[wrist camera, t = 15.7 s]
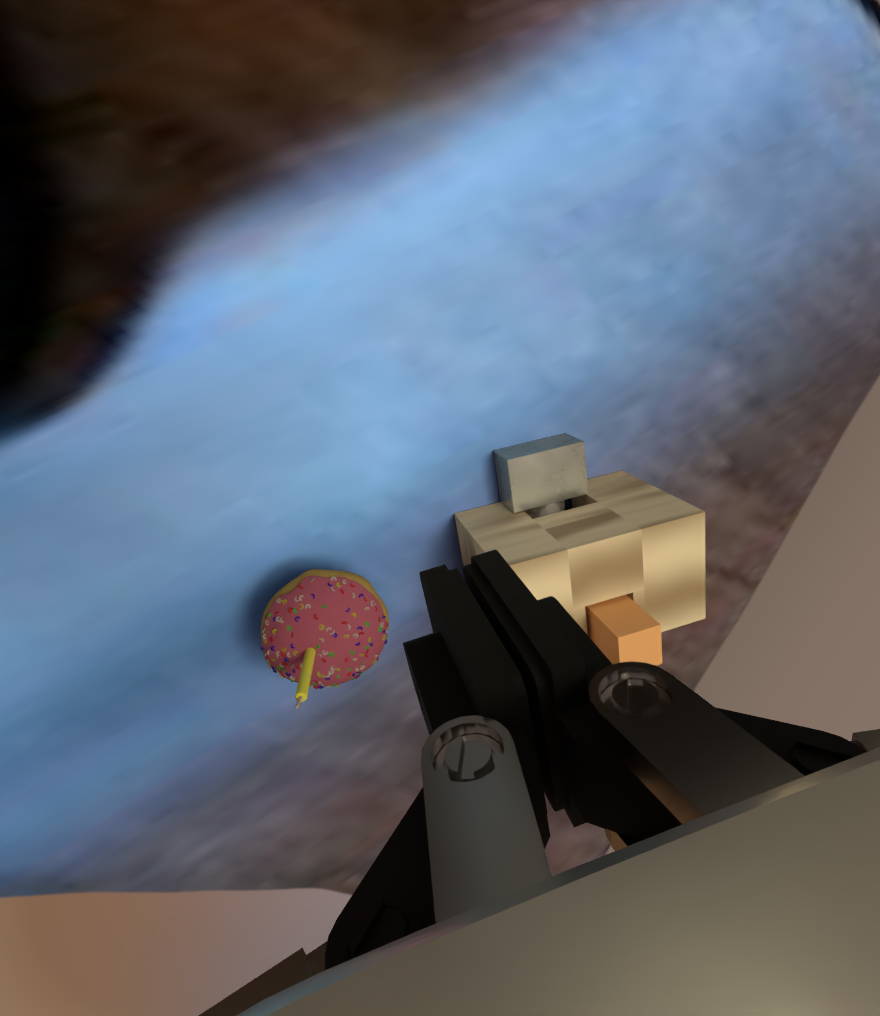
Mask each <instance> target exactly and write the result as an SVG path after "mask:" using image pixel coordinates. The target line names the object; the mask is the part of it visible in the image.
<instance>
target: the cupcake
mask: <svg viewBox="0 0 880 1016" xmlns="http://www.w3.org/2000/svg"><path fill="white" fill-rule="evenodd" d="M388 626H389V617H388V612H387V609H386V607H385V605H384V603H383V601H382V600H381V598H380V597H379V595H378V594H377V593H376V591H375V590H374V588H373V587H372V585H371V583H370V582H369V581H368V580H366V579H365V578H363V577H361V576H360V575H357V574H354V573H350V572H346V571H338V570H320V569H312V570H308V571H306V572H304V573H302V574H301V575H300V576H298V577H297V578H295V579H294V580H292V581H290V582H289V583H288V584H286V585H285V586H284V587H283V588H281V589H280V590H279V591H278V592H277V593H276V594H275V595H274V596H273V597H272V599H271V600H270V601H269V603H268V604H267V606H266V608H265V611H264V614H263V617H262V623H261V643H262V647H261V649H262V650H263V652H264V657H265V658H266V660H267V662H268V668H269V669H271V667H272V669H273V671H274V672H275V673H276V672H277V673H278V674H280V677H281V678H284V677H285V678H287V679H289V680H291V681H292V682H293V681H294V682H297V683H298V687H297V691H296V696H295V698H296V700H297V704H296V706H295V708H296V709H298V708H299V706H300V703H301V702H303V701H305V700H306V699H307V695H308V690H309V686H314V688H315V689H318V688H324V686H326V687H328V688H329V687H331V686H335V687H338V686H339V685H338V684H341V683H344V682H347V681H349V680H353V679H354V678H358V677H359V676H360V675H361V674H362V673H363V672H364V671H366V670H367V669H369V668H370V667H371V666H372V665H373V664H374V663H375V662H376V660H377V661H378V657H379V655H380V653H381V651H382V649H383V647H384V645H385V644H386V643H387V639H386V638H387V633H388ZM269 666H270V667H269ZM281 675H282V676H283V677H282V676H281ZM322 686H323V687H322ZM316 687H317V688H316Z"/></svg>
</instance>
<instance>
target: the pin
mask: <svg viewBox="0 0 880 1016" xmlns="http://www.w3.org/2000/svg"><path fill="white" fill-rule="evenodd" d="M493 454H494V461H495V468H496V475H497V482H498V489H499V496H500V501H502V502H503V503H504V504H505V505H506V506H507V507H508V508H509V509H510V510H512V511H513V512H514V513H516V512H520V511H524V510H525V513H526V514H527V515H529V516H530V517H531V518H532V519H535V518H539V517H543V516H546V515H550V514H554V513H558V512H562V511H565V504H564V500H566V499H570V498H573V497H577V496H581V495H585V494H588V486H587V474H586V462H585V450H584V441H582V440H580V439H577V438H575V437H573V436H571V435H569V434H566V433H563V434H559V435H555V436H551V437H546V438H542V439H538V440H534V441H530V442H526V443H521V444H517V445H513V446H509V447H505V448H500V449H496V450H493Z"/></svg>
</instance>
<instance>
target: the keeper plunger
mask: <svg viewBox="0 0 880 1016" xmlns="http://www.w3.org/2000/svg"><path fill="white" fill-rule="evenodd" d="M585 611H586V622H587V633H588V636H589V637H590V638H591V640H592V641H593V642H594V643H595V644H596V645H597V647H598V648H599V649H600V650H601V651H602V652H603V654H604V655H605V656H606V657H607V658H608V659H609V661H610V662H611V663H612V664H616V663H621V662H630V661H633V662H644V663H648V664H652V665H659V664H662V644H661V624H659V623H658V622H657V621H656V620H655V619H654V618H652V617H651V616H650V615H649V614H648V613H647V612H645V611H644V610H643V609H642V608H641V607H640V606H638V605H637V604H636V603H635V602H634V601H633V600H631V599H630V598H629V597H628V596H627V595H622V596H619V597H615V598H612V599H609V600H605V601H602V602H599V603H595V604H592V605H588V606H585Z"/></svg>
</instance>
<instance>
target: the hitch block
mask: <svg viewBox="0 0 880 1016" xmlns="http://www.w3.org/2000/svg"><path fill="white" fill-rule="evenodd" d="M587 486H588V494H585V495H581V496H577V497H573V498H572V509H569V510H565V511H562V512H558V513H554V514H550V515H546V516H543V517H539V518H535V519H532V518H531V517H530V516H529V515H527V514H526V513H525V512H524V511H520V512H516V513H514V512H513V511H512V510H510V509H509V508H508V507H507V506H506V505H505V504H504V503H503V502H502V501H501V502H497V503H494V504H490V505H486V506H482V507H478V508H474V509H470V510H466V511H462V512H458V513H454V516H455V521H456V527H457V533H458V539H459V544H460V550H461V556H462V561H463V567H464V566H465V565H469V564H471V557H472V556H475V555H478V554H482V553H485V552H488V551H492V550H497V551H498V552H499V553H500V554H501V555H502V557H503V558H504V559H505V560H506V562H507V563H508V564H509V565H510V567H511V568H512V569H513V570H514V572H515V573H516V574H517V575H518V577H519V578H520V579H521V581H522V582H523V583H524V584H525V586H526V587H527V588H528V589H529V591H530V592H531V593H532V594H533V596H534V597H535V598H536V599H537V600H539V599H543V598H546V597H549V596H553V597H554V598H556V599H557V600H558V601H559V603H560V604H561V605H562V606H563V607H564V608H565V609H566V611H567V612H568V613H569V614H570V615H571V616H572V618H573V619H574V620H575V621H576V622H577V623H578V625H579V626H580V627H581V628H582V629H583V630H584V632H585V633H586V634H587V635H588V633H587V622H586V611H585V606H588V605H592V604H595V603H599V602H602V601H605V600H609V599H612V598H615V597H619V596H622V595H627V596H628V597H629V598H630V599H631V600H633V601H634V602H635V603H636V604H637V605H638V606H640V607H641V608H642V609H643V610H644V611H645V612H647V613H648V614H649V615H650V616H651V617H652V618H654V619H655V620H656V621H657V622H658V623H659V624H661V632H663V631H666V630H670V629H673V628H676V627H679V626H682V625H686V624H689V623H692V622H695V621H699V620H702V619H705V511H703V510H701V509H699V508H697V507H695V506H693V505H691V504H689V503H687V502H685V501H683V500H680V499H678V498H676V497H674V496H672V495H670V494H668V493H666V492H664V491H662V490H660V489H658V488H656V487H654V486H652V485H650V484H648V483H646V482H644V481H642V480H640V479H638V478H636V477H634V476H632V475H630V474H628V473H626V472H624V471H619V472H615V473H611V474H607V475H603V476H599V477H595V478H591V479H587Z"/></svg>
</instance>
